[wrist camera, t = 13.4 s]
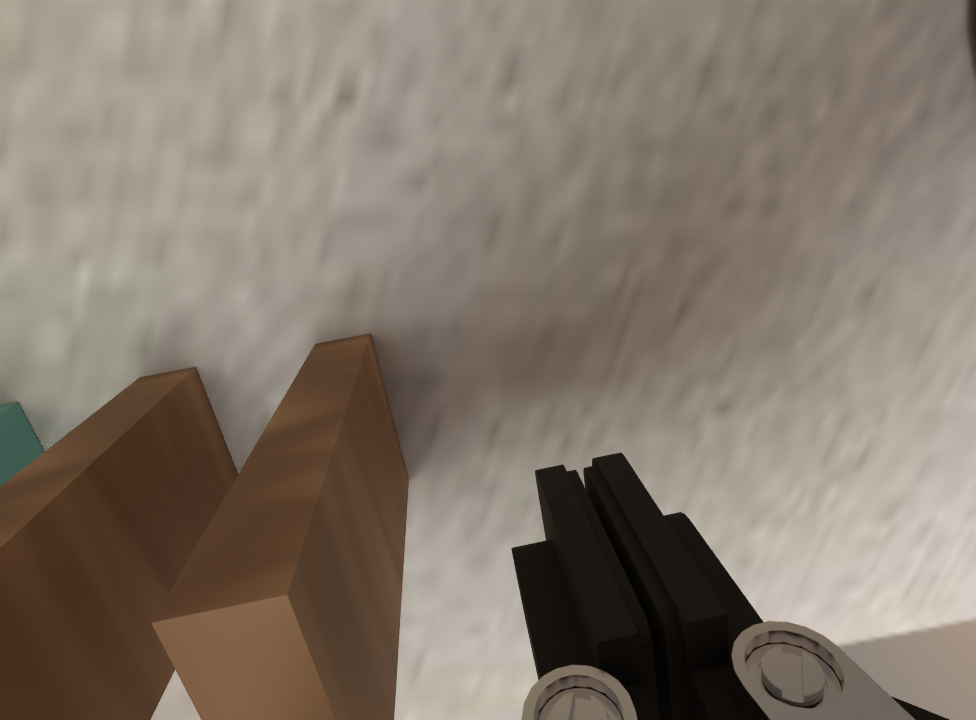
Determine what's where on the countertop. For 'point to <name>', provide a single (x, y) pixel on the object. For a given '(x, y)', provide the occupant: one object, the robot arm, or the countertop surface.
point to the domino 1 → (16, 441)
